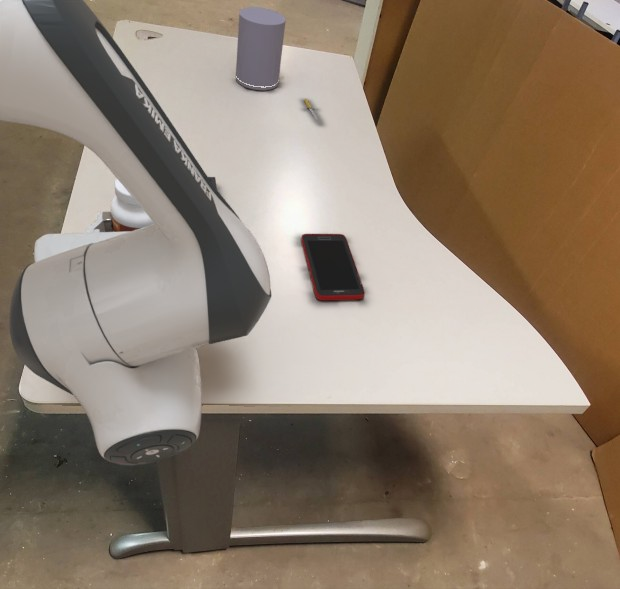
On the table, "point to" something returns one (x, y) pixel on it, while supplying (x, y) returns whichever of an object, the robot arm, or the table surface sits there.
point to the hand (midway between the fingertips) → (140, 215)
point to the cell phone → (332, 267)
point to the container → (259, 47)
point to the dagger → (310, 108)
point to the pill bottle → (127, 211)
